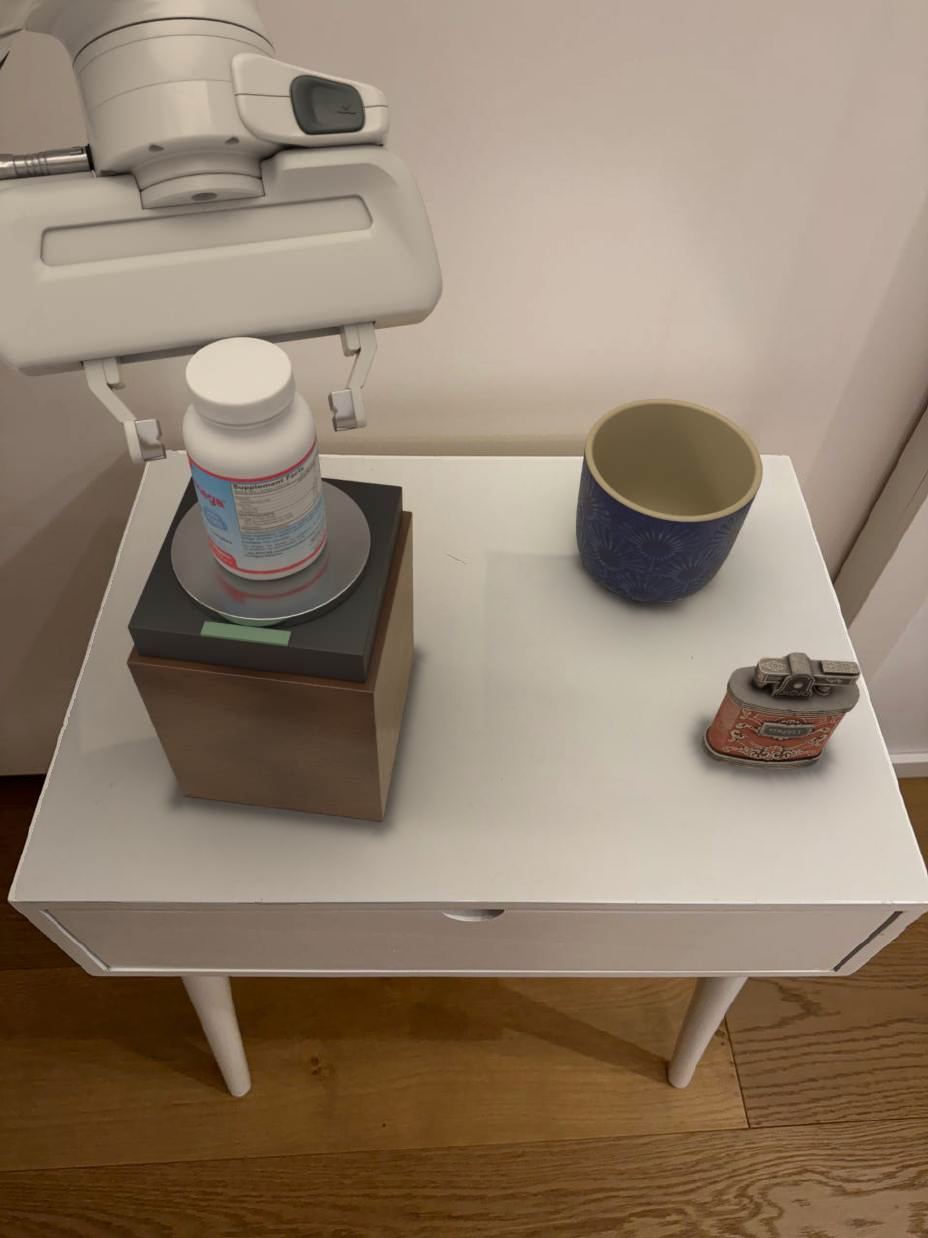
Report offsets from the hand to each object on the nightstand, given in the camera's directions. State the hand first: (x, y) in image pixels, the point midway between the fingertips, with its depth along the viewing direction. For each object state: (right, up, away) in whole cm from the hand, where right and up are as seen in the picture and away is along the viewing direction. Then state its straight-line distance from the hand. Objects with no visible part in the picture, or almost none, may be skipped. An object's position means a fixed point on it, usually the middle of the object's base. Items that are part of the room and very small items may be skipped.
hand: (252, 444), depth 45 cm
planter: (+24, -4, +30) cm, 39 cm away
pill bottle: (0, -4, +5) cm, 7 cm away
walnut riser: (-1, -15, +20) cm, 25 cm away
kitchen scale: (0, -6, +8) cm, 10 cm away
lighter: (+30, -17, +20) cm, 40 cm away
